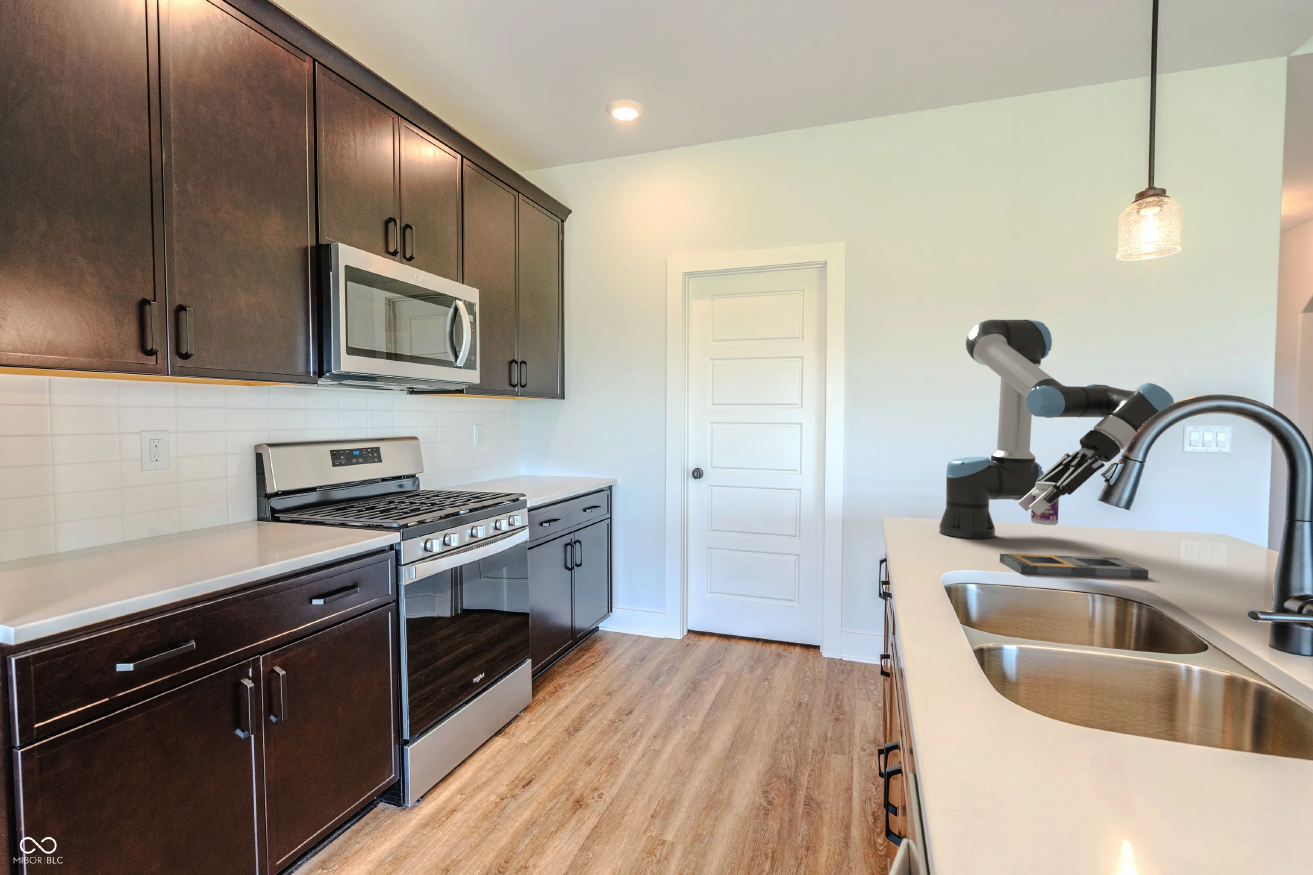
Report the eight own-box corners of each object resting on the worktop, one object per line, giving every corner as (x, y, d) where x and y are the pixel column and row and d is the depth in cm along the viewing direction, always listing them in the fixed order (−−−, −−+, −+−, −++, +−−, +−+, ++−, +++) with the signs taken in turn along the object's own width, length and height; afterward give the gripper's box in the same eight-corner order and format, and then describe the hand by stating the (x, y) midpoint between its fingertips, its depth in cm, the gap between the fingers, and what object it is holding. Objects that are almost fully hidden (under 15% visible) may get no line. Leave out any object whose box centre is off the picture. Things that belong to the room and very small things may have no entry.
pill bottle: (1033, 524, 141) (1034, 483, 141) (1028, 520, 146) (1030, 480, 146) (1060, 526, 139) (1062, 484, 139) (1055, 522, 144) (1056, 481, 144)
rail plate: (999, 561, 150) (999, 553, 150) (1116, 565, 146) (1116, 557, 146) (1020, 573, 138) (1021, 564, 138) (1148, 579, 134) (1148, 569, 134)
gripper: (1144, 454, 131) (1059, 527, 134) (1096, 449, 149) (1022, 513, 152) (1118, 429, 131) (1033, 503, 134) (1073, 427, 149) (1000, 492, 152)
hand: (1027, 508), depth 143 cm, fingers closed on pill bottle, 5 cm apart
